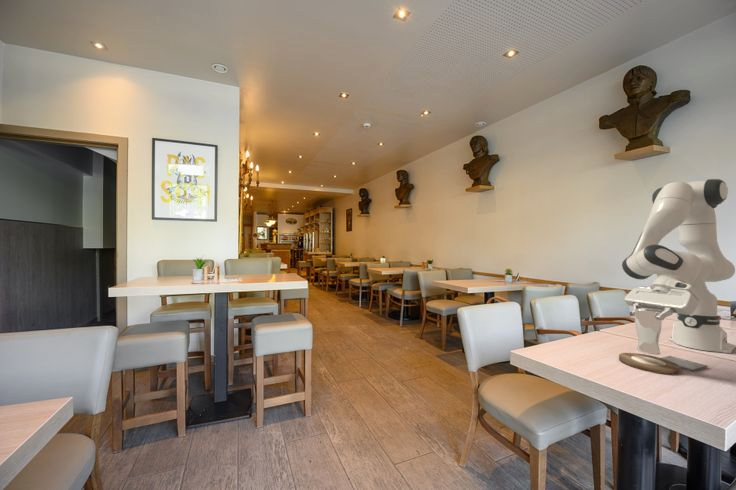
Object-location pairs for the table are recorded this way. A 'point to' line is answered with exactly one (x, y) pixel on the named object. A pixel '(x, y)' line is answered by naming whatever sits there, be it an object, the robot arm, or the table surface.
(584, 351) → the table surface
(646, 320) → the beer glass
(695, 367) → the square charcoal tile
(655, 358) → the round walnut board
